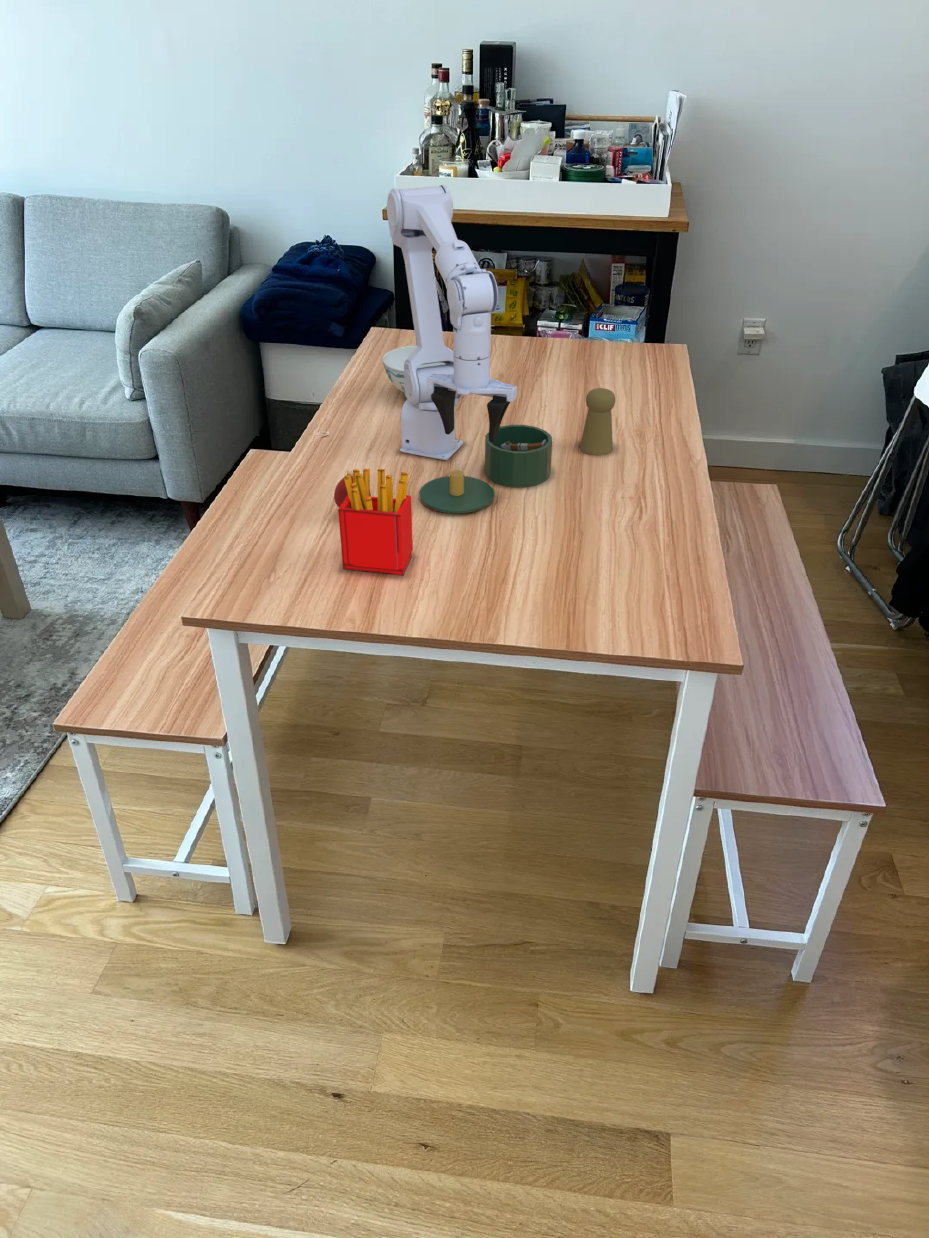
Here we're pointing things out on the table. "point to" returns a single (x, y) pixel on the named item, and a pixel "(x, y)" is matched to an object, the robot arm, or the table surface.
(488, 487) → the lid
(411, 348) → the chinaware
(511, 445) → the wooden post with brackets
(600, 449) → the olive game pawn
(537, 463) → the tin
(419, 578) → the table surface
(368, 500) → the french fries container
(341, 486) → the onion
